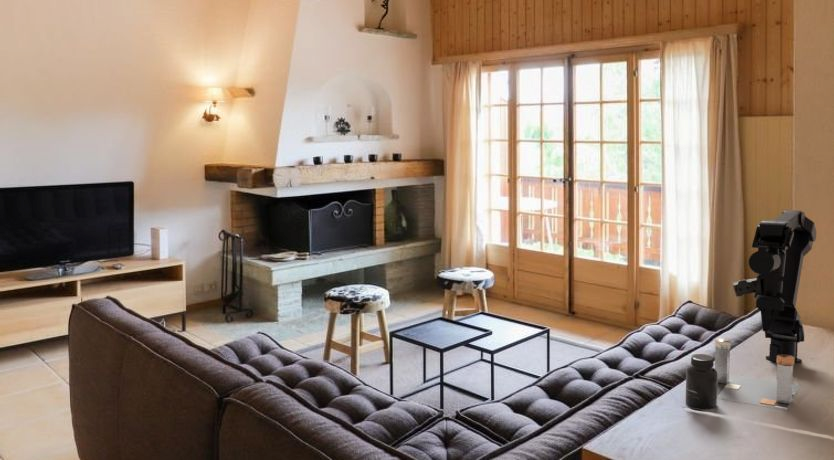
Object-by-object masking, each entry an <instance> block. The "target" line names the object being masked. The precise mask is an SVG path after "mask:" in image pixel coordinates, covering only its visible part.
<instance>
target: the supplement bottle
mask: <svg viewBox="0 0 834 460" xmlns="http://www.w3.org/2000/svg"><path fill="white" fill-rule="evenodd" d="M690 360H691V361H690V366H689V367H688V368H687V369H686V370H685V371H686V372H685V405H687V406H688V407H689V408H690V409H692V410H693V411H698V412H704V411H707V410H713V409H715V408H717V403H718V398H717V383H718V373H717V371H716V370H715V358H714V357H713V356H712V355H710V354H705V353H696V354H691V357H690Z"/></svg>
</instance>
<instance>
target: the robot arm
mask: <svg viewBox="0 0 834 460" xmlns="http://www.w3.org/2000/svg"><path fill="white" fill-rule="evenodd" d="M816 240H817V229H816V225H815V222H814V221H813V220H811V219H810V218H808V217H807V216H806V214H805V211H802V210H799V209H798V210H795V209H793V210H792V209H785V210H783V211H782V213H781V214H780V215H778V216H777V217H776V218H774V219H772V220H770V219H769V220H761V221H760V222H759V224H758V225H757V226H756V230H755V233H754V236H753V240H752V244H751V248H753V249H757V251H755V252H753V253H752V254H751V255H750V256H749V259H748V266H749V269H750V270H751V271H752V272H754V273H755V274H756V277H754V278H750V279H749V278H748V279H746V278H745V279H742V280H741V279H739V280H738V281H734V282H733V283H732V286H733V290H734V295H735V296H736V297H742V296H743V295H750V294H753V298H755V300H754V305H755V306H754V307H755V308H757V309H758V310H759V311H760V318H761V327H762V332H764V336H765V339H770V343H769V355H767V356H765V359H767V360H769V361H773V362H775V363H777V355H780V354H786V355H791V356H793V357H794V364H796V363H802V361H803V359H802V358H798V343H799V344H800V342H801V343H802V342H805V331H804V326H803V322H802V320H801V316H800V313H799V312H798V309H797V308H796V305H797V298H798V293H799V287H800V282H801V281H800V280H801V275H802V269H803V265H804V258H805V256H806V255H807V254H808V253H809V252H810V251H811V250H812V249H813V245H814V244H813V243H814V242H815V241H816Z"/></svg>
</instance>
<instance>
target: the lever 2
mask: <svg viewBox="0 0 834 460" xmlns="http://www.w3.org/2000/svg"><path fill="white" fill-rule="evenodd" d="M776 365H777V368H776V372H777V373H776V381H777V396H776V402H781V403H787V404H790V403H791V401H792V384H794V383H793V382H794V381H793V379H794V378H793V376H794V365H795V363H794V357H793V356H791V355H786V354H780V355H777V362H776ZM792 402H793V401H792ZM791 404H792V403H791Z"/></svg>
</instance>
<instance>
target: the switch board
mask: <svg viewBox="0 0 834 460" xmlns="http://www.w3.org/2000/svg"><path fill="white" fill-rule="evenodd" d="M800 387H801V384H800V385H799V384H794V383H792V401H791V403H790V404H787V403H781V402H776V396H777V380H769V379H763V378H756V377H751V376H744V375H738V374H732V373H729V381H728V383H727V384H724V383H717V399H720V400H725V401H732V402H735V403H740V404H741V403H743V404H747V405H753V406H758V407H763V408H769V409H776V410H780V411H784V412H785V411H786V412H788V411H789V409H790V407H791V405H792V404H793V401H794V399H795V397H796V395H797V393H798V391H799V389H800Z"/></svg>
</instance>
